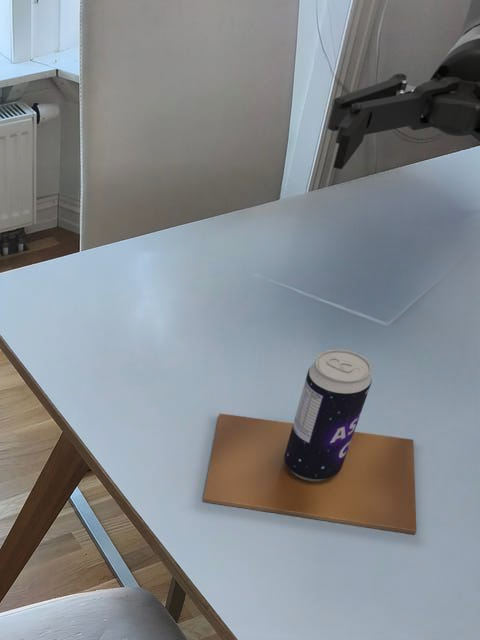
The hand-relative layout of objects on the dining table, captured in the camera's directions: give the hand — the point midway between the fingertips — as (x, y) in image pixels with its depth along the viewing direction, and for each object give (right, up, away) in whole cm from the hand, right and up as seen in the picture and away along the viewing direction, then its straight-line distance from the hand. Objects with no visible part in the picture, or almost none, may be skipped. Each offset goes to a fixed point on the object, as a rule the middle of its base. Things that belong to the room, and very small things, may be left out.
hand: (421, 167), depth 74 cm
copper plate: (-4, -23, +15) cm, 28 cm away
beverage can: (-4, -23, +15) cm, 27 cm away
